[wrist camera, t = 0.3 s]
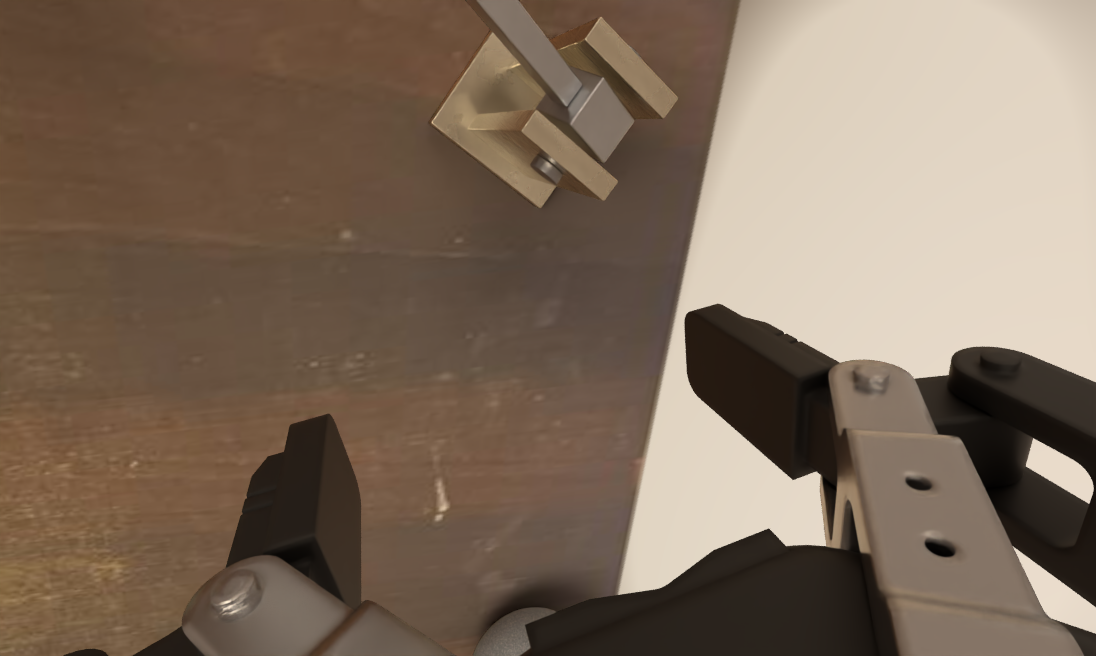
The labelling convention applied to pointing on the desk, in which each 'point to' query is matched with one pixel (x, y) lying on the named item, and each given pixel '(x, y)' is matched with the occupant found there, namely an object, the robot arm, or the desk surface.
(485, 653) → the decorative stone
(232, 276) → the desk surface
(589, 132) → the switch lever
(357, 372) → the desk surface
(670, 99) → the switch bracket
